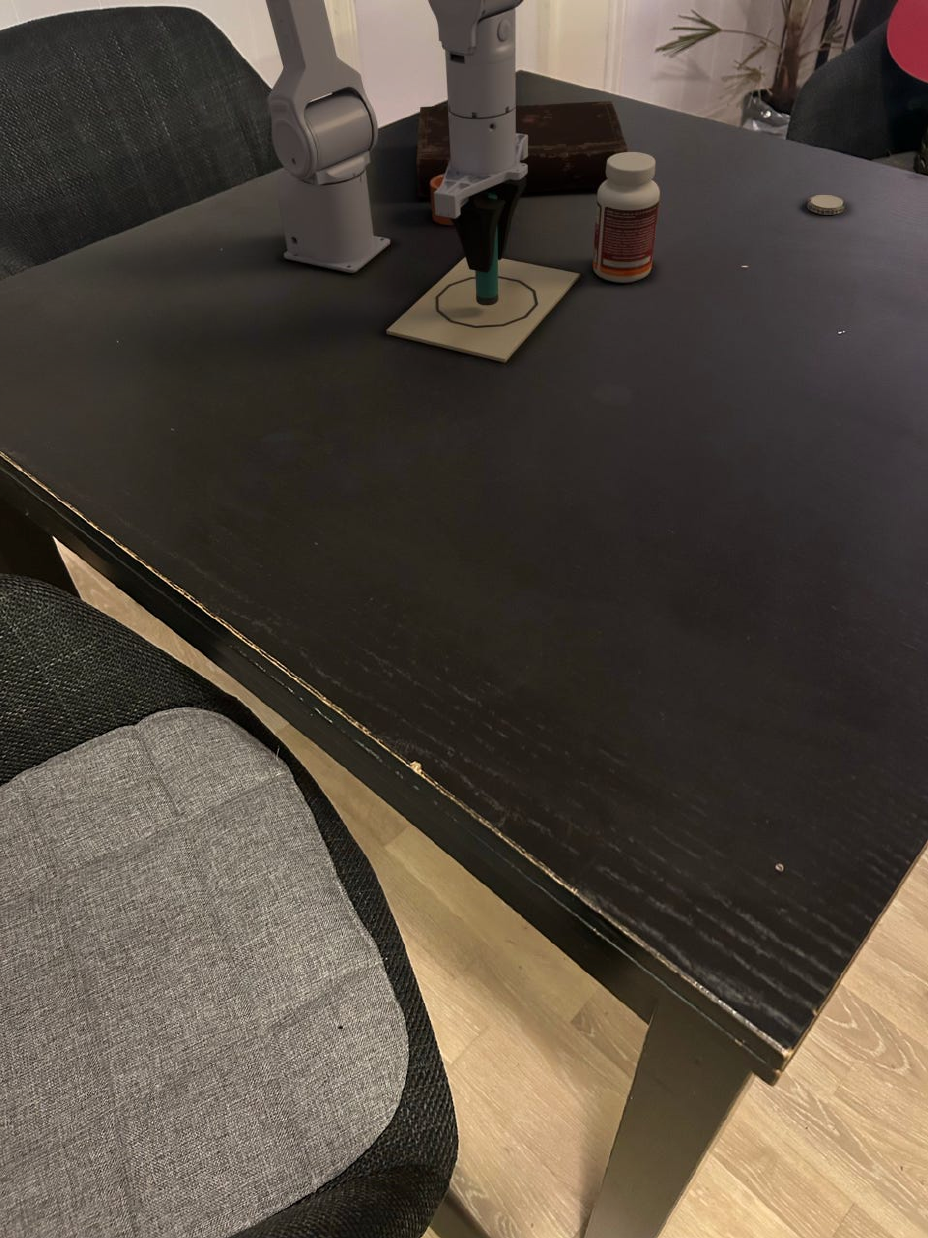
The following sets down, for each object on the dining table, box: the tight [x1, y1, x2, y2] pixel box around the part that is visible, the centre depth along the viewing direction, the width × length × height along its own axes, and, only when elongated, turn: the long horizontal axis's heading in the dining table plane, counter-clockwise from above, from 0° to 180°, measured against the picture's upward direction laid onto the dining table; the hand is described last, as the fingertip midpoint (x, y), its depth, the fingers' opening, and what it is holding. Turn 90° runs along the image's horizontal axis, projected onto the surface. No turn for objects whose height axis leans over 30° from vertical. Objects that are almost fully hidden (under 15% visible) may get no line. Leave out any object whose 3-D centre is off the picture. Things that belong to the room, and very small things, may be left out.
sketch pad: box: [386, 256, 581, 364], centre depth 89 cm, size 13×18×1 cm
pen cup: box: [430, 174, 454, 226], centre depth 102 cm, size 5×5×4 cm
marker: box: [475, 192, 498, 306], centre depth 83 cm, size 2×2×10 cm
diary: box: [415, 100, 629, 198], centre depth 111 cm, size 19×25×5 cm
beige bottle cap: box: [806, 194, 846, 215], centre depth 100 cm, size 4×4×1 cm
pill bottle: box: [592, 151, 661, 284], centre depth 89 cm, size 6×6×11 cm
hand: (486, 263), depth 84 cm, fingers closed on marker, 2 cm apart
